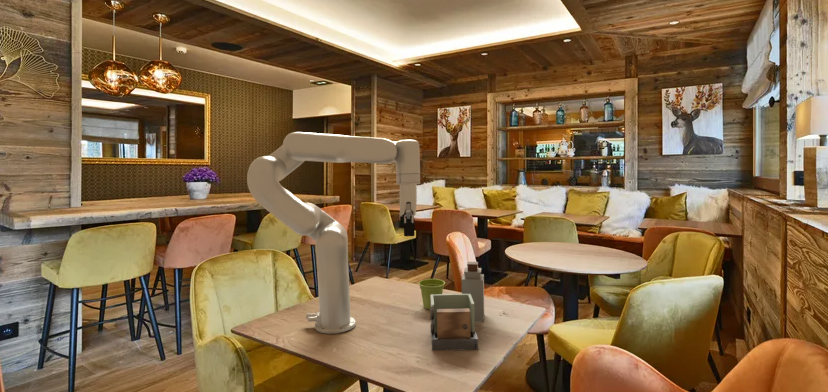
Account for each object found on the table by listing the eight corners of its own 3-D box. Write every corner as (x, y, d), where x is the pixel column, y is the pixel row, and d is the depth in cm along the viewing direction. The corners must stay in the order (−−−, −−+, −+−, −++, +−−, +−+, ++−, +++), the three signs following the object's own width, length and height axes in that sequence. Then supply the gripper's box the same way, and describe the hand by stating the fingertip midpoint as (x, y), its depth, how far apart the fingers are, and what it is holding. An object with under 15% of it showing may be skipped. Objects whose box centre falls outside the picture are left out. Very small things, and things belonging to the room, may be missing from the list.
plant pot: (450, 304, 147) (449, 280, 146) (437, 313, 139) (436, 287, 139) (427, 300, 152) (427, 277, 151) (413, 308, 144) (413, 284, 144)
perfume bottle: (483, 322, 131) (482, 265, 129) (462, 320, 132) (461, 265, 131) (484, 314, 137) (483, 260, 136) (463, 313, 139) (463, 260, 137)
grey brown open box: (431, 350, 112) (430, 310, 111) (430, 341, 117) (429, 303, 116) (478, 349, 111) (477, 309, 111) (475, 340, 117) (475, 302, 116)
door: (438, 349, 112) (437, 313, 112) (437, 344, 116) (436, 309, 115) (471, 348, 112) (470, 312, 112) (469, 343, 116) (469, 308, 115)
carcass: (432, 342, 116) (431, 304, 115) (431, 330, 125) (430, 294, 124) (475, 342, 116) (474, 303, 115) (470, 329, 125) (470, 293, 124)
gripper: (397, 178, 139) (399, 229, 140) (394, 181, 122) (396, 238, 123) (420, 178, 139) (421, 228, 140) (420, 180, 122) (421, 238, 123)
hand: (409, 233), depth 132 cm, fingers open, 9 cm apart
